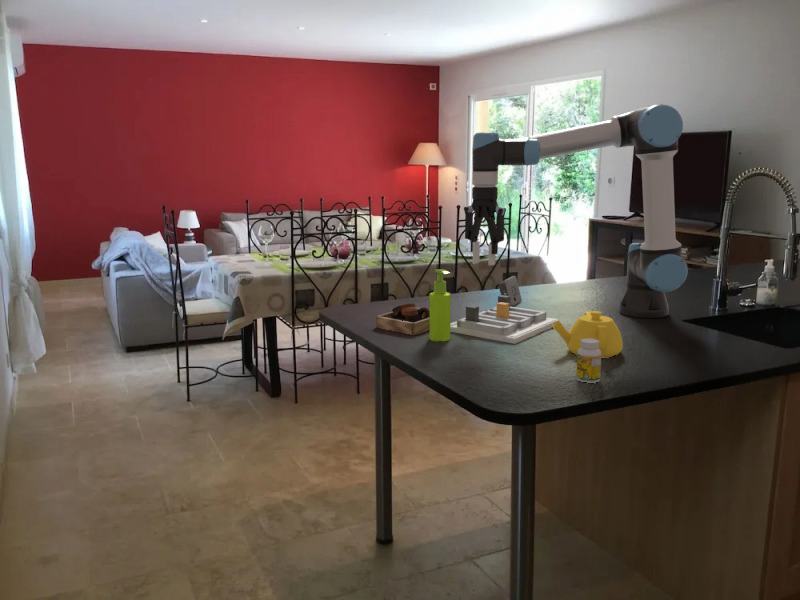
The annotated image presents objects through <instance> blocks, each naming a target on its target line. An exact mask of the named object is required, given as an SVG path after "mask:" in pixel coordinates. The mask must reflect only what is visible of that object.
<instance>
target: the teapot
mask: <svg viewBox="0 0 800 600" xmlns="http://www.w3.org/2000/svg"><path fill="white" fill-rule="evenodd" d="M552 328H553V329H554V330H555V332H556V333H558V335H559V336H560V337H561V338H562V340H563V341H564V342H565V343H566V346H567V348H568V350H569V351H570V352H571V353H572V354H573V353H574V354H573V355H575V354H576V355H575V356H577V351H578V349H580V348H581V345H580V344H581V339H586V338H590V339H596V340H598V341H599V346H598V349H599V350H600V351H601V357H610V356H614V355H616V356H618V355H619V353H621V352H622V350H623V348H624V346H623V345H624V344H623V343H624V342H623V337H622V334H621V331H620V329H619V327H618V326H617V324H616V322H615V320H614V319H613V318H611V317H610V316H606V315H602V312H601V311H599V310H597V311H596V310H593V311H591V310H590V311H584V315H581V316H580V317H578V318H577V319H576V321H575V322H574V323H573V326H571V328H570V330H569V331H568V329H566V328H565V326H564V325H563V324H562V322H561V320H560V321H557V322H555V323H554V324H553V325H552Z"/></svg>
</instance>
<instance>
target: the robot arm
mask: <svg viewBox="0 0 800 600" xmlns="http://www.w3.org/2000/svg"><path fill="white" fill-rule="evenodd" d="M683 129H684V122H683V118H682V115H681V113H679V111H678V110H677V109H675V108H674V107H673V106H671V105H668V104H662V103H659V104H658V103H655V104H652V105H648V106H643V107H642V106H641V107H640V108H639V107H638V108H637V109H634V110H632V111H629V112H625V113H623V114H619V115H614V116H612V117H611V118H610V120H605V121H601V122H596V123H591V124H585V125H581V126H575V127H570V128H565V129H561V130H555V131H550V132H545V133H539V134H535V135H531V136H526V137H525V136H524V137H519V138H510V139H509V138H508V139H506V138H505V139H503V138H500V135H499V133H498V132H492V131H490V132H476V133H475V134H474V135H473V137H472V138H473V139H472V175H471V176H472V179H471V184H472V188H471V195H472V196H471V197H472V203H471V205H468V206H464V207H463V211H464V214H465V215H464V217H465V218H464V239H465V240H468V241H470V253H472V262H471V263H472V265H473V264H474V265H475V264H479V263H480V259H481V258H480V251H481V250H480V247H481V246H480V245H481V241H480V240H479V235H480V231H481V226H482V222H483V220H484V219H485V222H486V223H487V229H488V233H489V239H490V242H489V243H488V251H487V252H488V255H487V256H488V258H487V259H488V264H487V265H488V266H495V265H496V255H497V254H498V251H499V250H498V249H499V248H498V247H499V243H500V242H503V241H504V240H505V215H506V212H507V208H505V207H501V206H499V204H498V197H499V195H498V193H499V187H498V184H499V183H498V182H499V181H498V180H499V166H536V165H538V164H539V163H540V160H543V159H544V160H545V159H549V158H553V157H559V156H564V155H569V154H575V153H580V152H585V151H586V152H587V151H591V150H595V149H601V148H606V147H611V146H614V147H615V148H616V149H617V148H618V149H619V148H626V147H634V149H635V151H634V153H635V156H636V157H637V158H638V159H640V162H641V181H642V184H641V186H642V204H643V207H642V208H643V229H644V241H643V242H632V243H630V244H629V246H628V252H627V266H626V285H625V291H624V293H623V295H622V297H621V300H620V303H619V306H618V307H619V310H618V312H619V313H620V314H621V313H622V315H624V314H626V315H625V316H627V315H630V316H629V317H631V316H636V317H635V318H638V317H661V318H664V317H663V316H666V317H667V315H668V316H669V309H670V308H669V304H668V300H667V295H666V293H669V292H673V291H676V290H677V289H678V288H680V287H681V286H682V285H684V283H685V281H686V279H687V278H688V277H687V276H688V275H689V274H688V273H689V271H688V265H687V263H686V261H685V260H684V258H683V253H682V251H683V250H682V249H683V248H682V243H681V242H679V241H678V240H677V237H676V214H675V209H676V208H675V184H674V183H675V181H674V180H675V179H674V156H675V155H676V154H677V153H678V151H679V139H680V137H681V135H682V133H683ZM495 214H496V216H495Z"/></svg>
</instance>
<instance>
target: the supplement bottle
mask: <svg viewBox="0 0 800 600" xmlns="http://www.w3.org/2000/svg"><path fill="white" fill-rule="evenodd" d="M580 345H581V348H580V349H578V351H577V355H576V380H577V381H578V380H579V381H581V382H580V383H582V382H587V383H586V384H588V383H594V384H597V383H596V382H598V383H599V382H600V381H601V372H602V370H601V368H602V359H601V351H600V350H599V349H598V346H599V341H598V340H596V339H590V338H586V339H581V344H580ZM579 381H578V382H579Z"/></svg>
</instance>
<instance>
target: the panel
mask: <svg viewBox="0 0 800 600" xmlns="http://www.w3.org/2000/svg"><path fill="white" fill-rule="evenodd" d="M496 310H497V306H495V307H492V308H489V309H488V310H487V309H486V310H483V311H481V312H480V311H479V322H473V321H468V320H466V316H465V317H462V318H460V319H457V320H456V321H453V322H450V333H456V334H462V335H467V336H473V337H478V338H483V339H488V340H493V341H499V342H503V343H509V344H513V345H514V344H517V343H520V342H523V341H524V340H526V339H529V338H531V337H534V336H536V335H538V334H541V333H542V332H544V331H547V330H550V329H552V328H553V327H552V325H553V324H554V323H555V322H557V321H560V322H561V320H560V319H558V318H553V317H547V311H542V310H535V309H530V308H529V309H528V308H523V307H516V306H510V311H509V316H510V319H507V318H501V317H496Z"/></svg>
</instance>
